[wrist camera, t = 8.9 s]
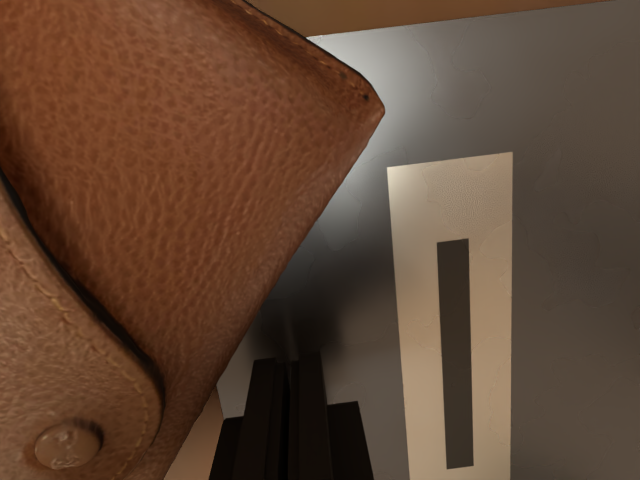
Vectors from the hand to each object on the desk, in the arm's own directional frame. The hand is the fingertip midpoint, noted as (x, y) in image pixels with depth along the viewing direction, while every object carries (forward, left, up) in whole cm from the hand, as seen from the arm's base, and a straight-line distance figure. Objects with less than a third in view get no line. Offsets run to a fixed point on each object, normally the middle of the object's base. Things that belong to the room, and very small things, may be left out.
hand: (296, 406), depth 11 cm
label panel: (-8, 0, -1) cm, 8 cm away
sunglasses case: (+5, -2, -1) cm, 6 cm away
